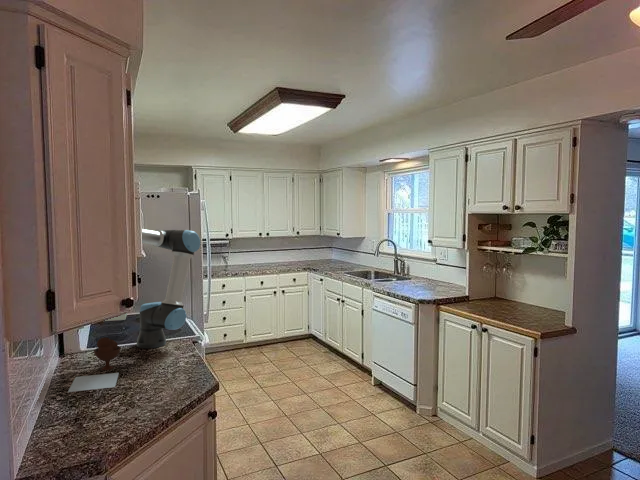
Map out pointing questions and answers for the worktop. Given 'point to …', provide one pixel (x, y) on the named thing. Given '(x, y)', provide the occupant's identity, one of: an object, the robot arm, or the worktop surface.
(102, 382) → the mat
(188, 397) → the worktop surface
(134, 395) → the worktop surface
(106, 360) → the ice cream bowl
